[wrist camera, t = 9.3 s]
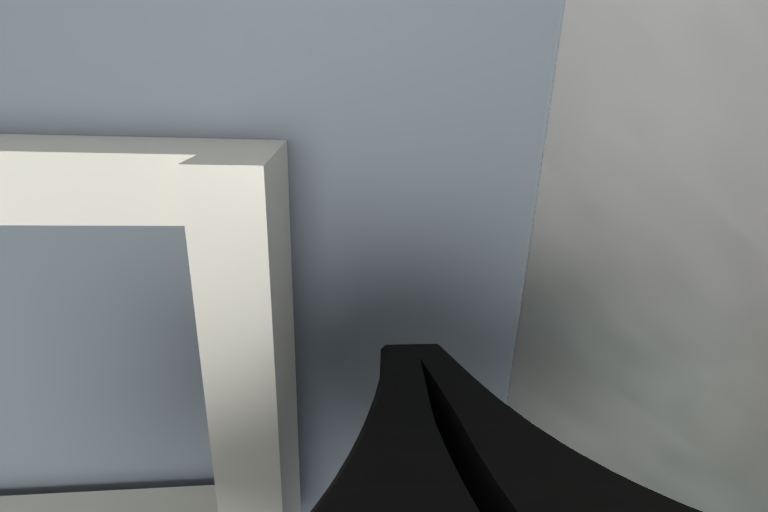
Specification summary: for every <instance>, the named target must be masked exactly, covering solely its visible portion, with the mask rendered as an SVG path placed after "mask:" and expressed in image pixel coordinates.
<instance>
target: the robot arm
mask: <svg viewBox="0 0 768 512" xmlns="http://www.w3.org/2000/svg"><path fill="white" fill-rule="evenodd" d="M310 512H702V511H699V510H697V509H694V508H691V507H689V506H686V505H684V504H682V503H679V502H677V501H675V500H672V499H670V498H668V497H666V496H663V495H661V494H659V493H657V492H655V491H652V490H650V489H648V488H646V487H643V486H641V485H639V484H637V483H635V482H633V481H631V480H629V479H627V478H625V477H623V476H621V475H619V474H616V473H615V472H613V471H611V470H609V469H607V468H605V467H603V466H601V465H600V464H598V463H596V462H594V461H592V460H590V459H589V458H587V457H585V456H583V455H581V454H579V453H578V452H576V451H574V450H573V449H571V448H569V447H567V446H566V445H564V444H563V443H561V442H559V441H558V440H556V439H555V438H553V437H552V436H550V435H549V434H547V433H546V432H544V431H542V430H541V429H539V428H538V427H536V426H535V425H533V424H532V423H531V422H529V421H528V420H526V419H525V418H523V417H522V416H521V415H519V414H518V413H517V412H516V411H514V410H513V409H512V408H510V407H509V406H508V405H506V404H505V403H504V402H503V401H501V400H500V399H499V398H498V397H496V396H495V395H494V394H493V393H491V392H490V391H489V390H488V389H487V388H486V387H484V386H483V385H482V384H481V383H480V382H479V381H478V380H476V379H475V378H474V377H473V376H472V375H471V374H470V373H469V372H468V371H466V370H465V369H464V368H463V367H462V366H461V365H460V364H459V363H458V362H457V361H456V360H455V359H454V358H453V357H452V356H450V355H449V354H448V353H447V352H446V351H445V350H444V349H443V348H442V347H441V346H440V345H439V344H397V345H385V346H384V347H383V348H381V353H380V378H379V382H378V385H377V389H376V393H375V396H374V399H373V402H372V404H371V407H370V410H369V412H368V415H367V417H366V420H365V422H364V425H363V427H362V429H361V431H360V433H359V435H358V438H357V440H356V441H355V443H354V445H353V447H352V449H351V451H350V453H349V455H348V456H347V458H346V460H345V461H344V463H343V465H342V466H341V468H340V470H339V472H338V473H337V475H336V476H335V478H334V480H333V481H332V483H331V484H330V486H329V487H328V489H327V490H326V491H325V493H324V494H323V495H322V497H321V498H320V499H319V501H318V502H317V503H316V505H315V506H314V507H313V509H312V510H311V511H310Z"/></svg>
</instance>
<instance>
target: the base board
mask: <svg viewBox="0 0 768 512" xmlns="http://www.w3.org/2000/svg"><path fill="white" fill-rule="evenodd" d="M564 6H565V0H0V134H36V135H82V136H128V137H174V138H221V139H267V140H287V155H288V181H289V208H290V234H291V261H292V287H293V314H294V340H295V367H296V393H297V420H298V446H299V472H300V499H301V512H310V511H311V510H312V509H313V507H314V506H315V505H316V503H317V502H318V501H319V499H320V498H321V497H322V495H323V494H324V493H325V491H326V490H327V489H328V487H329V486H330V484H331V483H332V481H333V480H334V478H335V476H336V475H337V473H338V472H339V470H340V468H341V466H342V465H343V463H344V461H345V460H346V458H347V456H348V455H349V453H350V451H351V449H352V447H353V445H354V443H355V441H356V440H357V438H358V435H359V433H360V431H361V429H362V427H363V425H364V422H365V420H366V417H367V415H368V412H369V410H370V407H371V404H372V402H373V399H374V396H375V393H376V389H377V385H378V382H379V378H380V353H381V348H383V347H384V346H385V345H397V344H439V345H440V346H441V347H442V348H443V349H444V350H445V351H446V352H447V353H448V354H449V355H450V356H452V357H453V358H454V359H455V360H456V361H457V362H458V363H459V364H460V365H461V366H462V367H463V368H464V369H465V370H466V371H468V372H469V373H470V374H471V375H472V376H473V377H474V378H475V379H476V380H478V381H479V382H480V383H481V384H482V385H483V386H484V387H486V388H487V389H488V390H489V391H490V392H491V393H493V394H494V395H495V396H496V397H498V398H499V399H500V400H501V401H503V402H504V403H505V404H506V405H507V400H508V393H509V386H510V379H511V372H512V365H513V358H514V351H515V344H516V337H517V331H518V324H519V317H520V310H521V303H522V296H523V289H524V282H525V275H526V268H527V261H528V254H529V248H530V241H531V234H532V227H533V220H534V213H535V206H536V199H537V192H538V185H539V178H540V172H541V165H542V158H543V151H544V144H545V137H546V130H547V123H548V116H549V109H550V102H551V95H552V89H553V82H554V75H555V68H556V61H557V54H558V47H559V40H560V33H561V26H562V19H563V13H564ZM202 485H215V482H214V473H213V464H212V456H211V447H210V439H209V430H208V422H207V413H206V405H205V396H204V388H203V379H202V371H201V362H200V354H199V345H198V336H197V328H196V319H195V311H194V302H193V294H192V285H191V277H190V268H189V260H188V251H187V243H186V234H185V226H41V225H0V496H11V495H30V494H49V493H68V492H87V491H107V490H126V489H145V488H164V487H183V486H202Z"/></svg>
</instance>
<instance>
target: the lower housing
mask: <svg viewBox="0 0 768 512" xmlns="http://www.w3.org/2000/svg"><path fill="white" fill-rule="evenodd" d="M0 225H41V226H185V234H186V243H187V251H188V260H189V268H190V277H191V285H192V294H193V302H194V311H195V319H196V328H197V336H198V345H199V354H200V362H201V371H202V379H203V388H204V396H205V405H206V413H207V422H208V430H209V439H210V447H211V456H212V464H213V473H214V482H215V485H202V486H183V487H164V488H145V489H126V490H107V491H87V492H68V493H49V494H30V495H11V496H0V512H301V499H300V472H299V446H298V420H297V393H296V367H295V340H294V314H293V287H292V261H291V234H290V208H289V181H288V155H287V140H267V139H221V138H174V137H128V136H82V135H36V134H0Z"/></svg>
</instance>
